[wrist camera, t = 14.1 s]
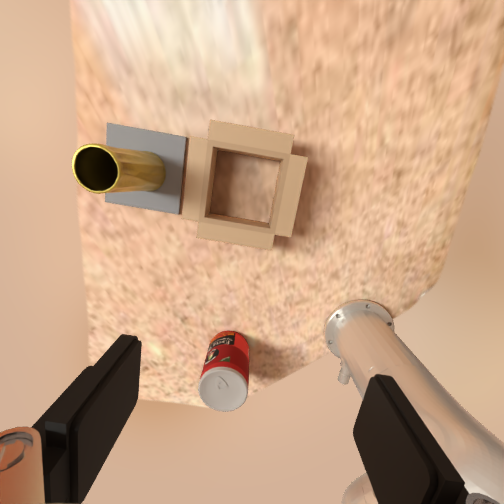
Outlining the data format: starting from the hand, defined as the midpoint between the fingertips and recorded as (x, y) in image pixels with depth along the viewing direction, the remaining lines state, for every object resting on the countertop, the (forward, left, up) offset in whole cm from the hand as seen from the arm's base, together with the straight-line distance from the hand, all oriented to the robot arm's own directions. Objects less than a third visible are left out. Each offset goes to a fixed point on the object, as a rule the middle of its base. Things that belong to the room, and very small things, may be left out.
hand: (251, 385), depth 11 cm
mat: (+6, +19, -36) cm, 41 cm away
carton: (+6, +3, -36) cm, 36 cm away
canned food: (-24, +1, -36) cm, 43 cm away
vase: (+6, +18, -36) cm, 40 cm away
